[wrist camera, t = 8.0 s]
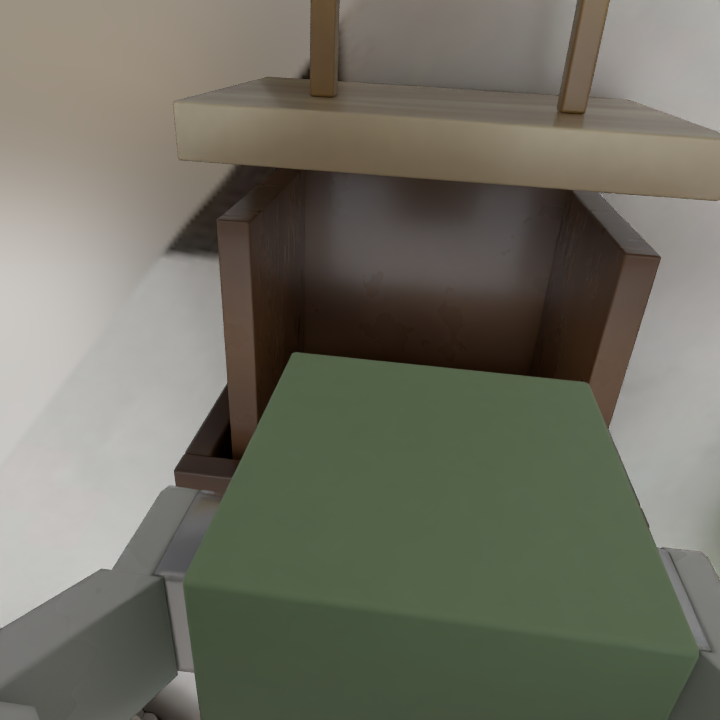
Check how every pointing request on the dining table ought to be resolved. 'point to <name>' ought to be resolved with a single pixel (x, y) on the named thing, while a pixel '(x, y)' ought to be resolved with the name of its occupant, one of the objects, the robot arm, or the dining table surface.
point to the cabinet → (219, 453)
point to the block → (432, 557)
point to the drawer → (437, 221)
